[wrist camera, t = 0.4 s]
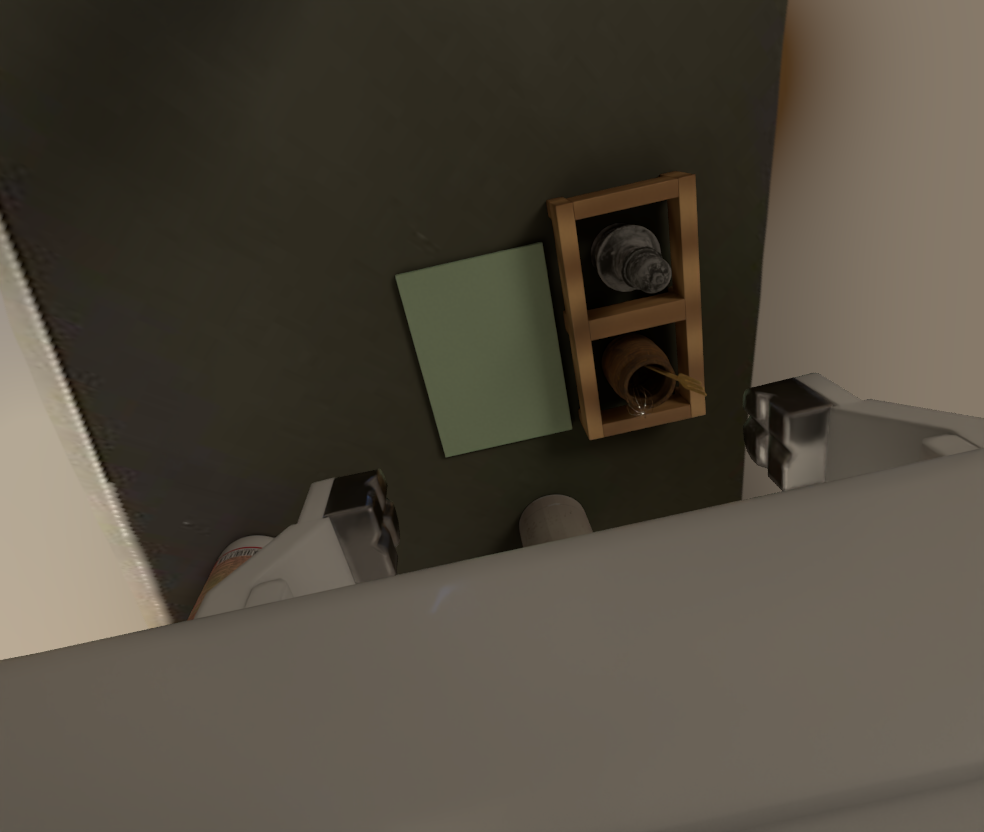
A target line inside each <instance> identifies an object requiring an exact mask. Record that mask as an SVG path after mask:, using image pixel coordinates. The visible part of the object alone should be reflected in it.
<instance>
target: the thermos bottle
mask: <svg viewBox="0 0 984 832" xmlns="http://www.w3.org/2000/svg"><path fill="white" fill-rule="evenodd" d="M519 530H520V535H521V540H522V545H523V548H524V547H529V546H533V545H538V544H543V543H547V542H552V541H556V540H561V539H566V538H570V537H575V536H579V535H584V534H589V533H593V531H592V529H591V526H590V524H589V521H588V519H587V516H586V514H585V511H584V509H583V508H582V506H581V505H580V504H579V503H578V502H577V501H576V500H574V499H573V498H570V497H568V496H564V495H548V496H544V497H541V498H539V499H537V500H535V501H533V502H532V503H531V504H529V505H528V506H527V508H526V509H525V510H524V511H523V513H522V515H521V518H520V521H519Z"/></svg>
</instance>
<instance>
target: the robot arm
mask: <svg viewBox="0 0 984 832" xmlns="http://www.w3.org/2000/svg"><path fill="white" fill-rule="evenodd" d="M743 409H744V410H745V411H746V412H747V413H748V414H749V415H750V416H749V418H748V419H747V421H746V422H745V424H744V425H743V434H744V442H745V445H746V449H747V452H748V453H749V455H750V457H751V459H752V460H753V461H754V462H755V463H756V464H757V465H758V466H761V467H765V468H768V477H770V479H771V480H772V481H773V482H774V483H775V484H776V485H777V486H778V487H779V488H780V489H781V490H782V492H778V493H774V494H768V495H764V496H759V497H755V498H750V499H746V500H741V501H736V502H732V503H727V504H722V505H718V506H713V507H709V508H704V509H699V510H695V511H690V512H686V513H681V514H676V515H672V516H667V517H663V518H658V519H653V520H649V521H644V522H640V523H635V524H630V525H626V526H621V527H616V528H612V529H607V530H603V531H598V532H593V533H589V534H584V535H579V536H575V537H570V538H566V539H561V540H556V541H552V542H547V543H543V544H538V545H533V546H529V547H524V548H519V549H515V550H510V551H506V552H501V553H496V554H492V555H487V556H482V557H478V558H473V559H469V560H464V561H459V562H455V563H450V564H445V565H441V566H436V567H432V568H427V569H422V570H418V571H413V572H409V573H404V574H399V575H396V573H397V563H398V555H397V552H396V549H395V547H396V546H397V545H398V544H399V539H400V532H399V522H398V518H397V513H396V510H395V507H394V504H393V502H392V501H390V500H389V499H388V498H386V495H387V486H388V485H387V483H386V480H385V477H384V475H383V472H382V471H381V470H380V469H377V470H372V471H367V472H362V473H357V474H352V475H347V476H342V477H337V478H330V479H326V480H322V481H318V482H315V483H312V484H311V486H310V489H309V492H308V494H307V497H306V500H305V503H304V506H303V508H302V511H301V514H300V517H299V520H298V522H297V524H294V525H290V526H289V527H288V528H287V529H285V530H284V531H283V532H282V533H280V534H279V535H278V536H277V537H275V538H274V539H273V540H272V541H270V542H269V543H268V544H267V545H265V546H264V547H263V548H262V549H260V550H259V551H258V552H257V553H255V554H254V555H253V556H252V557H251V558H249V559H248V560H247V561H246V562H244V563H243V564H242V565H241V566H239V567H238V568H237V569H236V570H234V571H233V572H232V573H231V574H229V575H228V576H227V577H226V578H224V579H223V580H222V581H221V582H219V583H218V584H217V585H216V586H215V587H213V588H212V589H211V590H210V591H208V592H207V593H206V595H205V597H204V599H203V601H202V603H201V605H200V607H199V609H198V611H197V613H196V615H195V617H194V619H193V620H188V621H183V622H179V623H174V624H170V625H165V626H160V627H156V628H151V629H147V630H142V631H137V632H133V633H128V634H124V635H119V636H115V637H110V638H105V639H100V640H96V641H91V642H87V643H83V644H77V645H73V646H68V647H64V648H59V649H54V650H50V651H45V652H41V653H36V654H30V655H26V656H20V657H15V658H9V659H4V660H0V832H984V418H979V417H973V416H968V415H962V414H956V413H950V412H944V411H937V410H932V409H926V408H920V407H914V406H908V405H902V404H897V403H891V402H885V401H879V400H873V399H867V400H861V399H859V398H858V397H856V396H854V395H853V394H851V393H850V392H848V391H846V390H845V389H843V388H841V387H840V386H838V385H837V384H835V383H834V382H832V381H830V380H829V379H827V378H825V377H824V376H822V375H821V374H819V373H810V374H807V375H802V376H799V377H795V378H790V379H786V380H782V381H777V382H773V383H769V384H765V385H761V386H757V387H752V388H749V389H747V390H745V392H744V396H743Z"/></svg>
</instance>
